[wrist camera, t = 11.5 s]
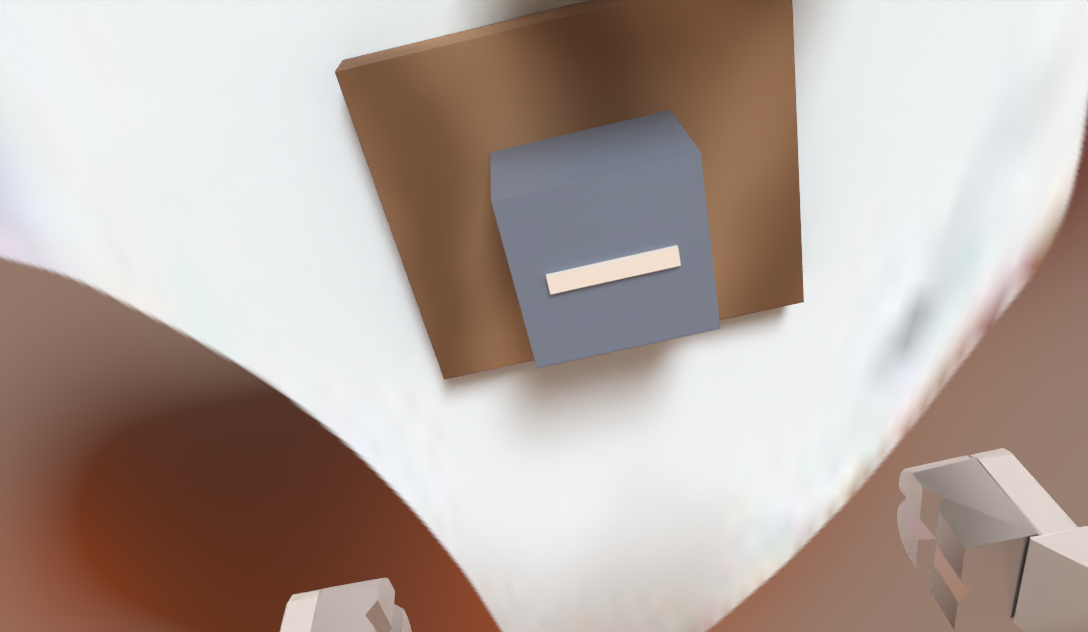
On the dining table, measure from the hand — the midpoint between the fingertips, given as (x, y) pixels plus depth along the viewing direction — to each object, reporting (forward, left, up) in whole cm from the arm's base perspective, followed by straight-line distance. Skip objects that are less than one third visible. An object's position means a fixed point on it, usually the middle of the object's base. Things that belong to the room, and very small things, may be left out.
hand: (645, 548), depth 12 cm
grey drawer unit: (+1, -2, -16) cm, 16 cm away
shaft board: (+1, -2, -17) cm, 18 cm away
